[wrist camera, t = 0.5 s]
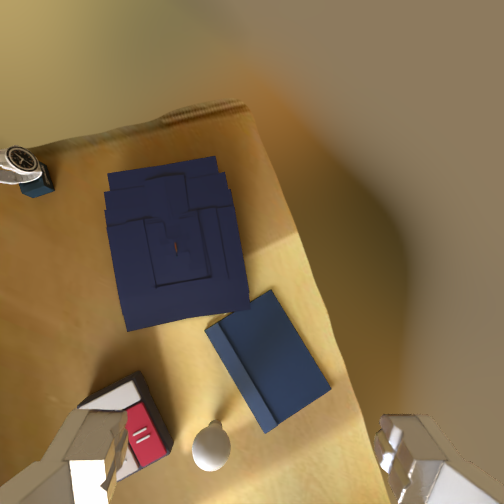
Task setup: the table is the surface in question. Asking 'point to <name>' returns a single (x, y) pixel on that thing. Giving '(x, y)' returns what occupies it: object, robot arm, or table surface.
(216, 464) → the lightbulb
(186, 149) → the table surface
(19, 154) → the watch
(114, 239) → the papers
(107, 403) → the button panel
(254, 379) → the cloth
